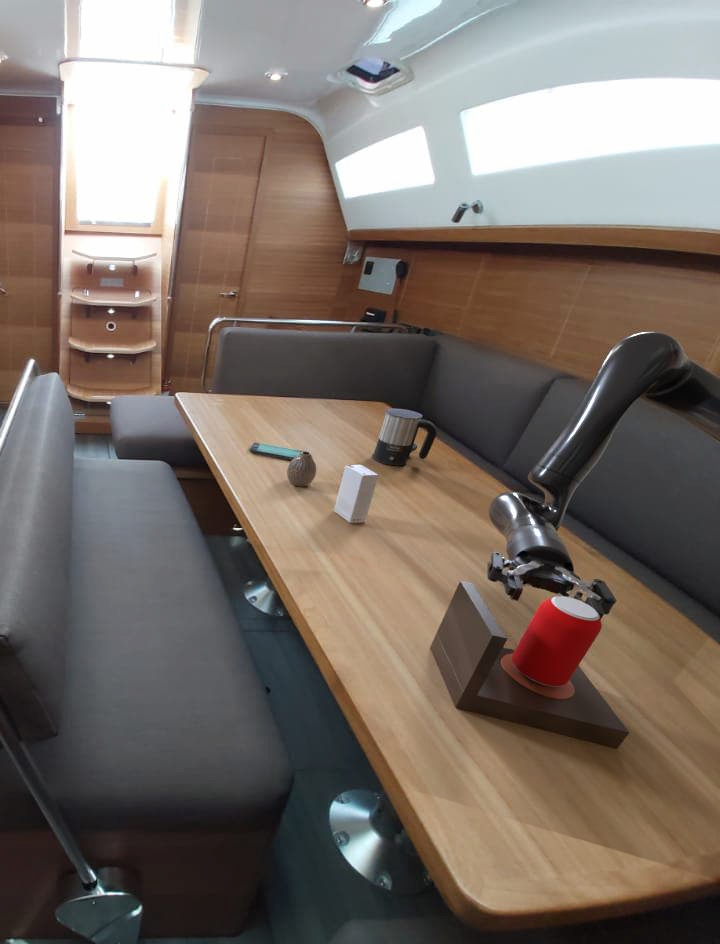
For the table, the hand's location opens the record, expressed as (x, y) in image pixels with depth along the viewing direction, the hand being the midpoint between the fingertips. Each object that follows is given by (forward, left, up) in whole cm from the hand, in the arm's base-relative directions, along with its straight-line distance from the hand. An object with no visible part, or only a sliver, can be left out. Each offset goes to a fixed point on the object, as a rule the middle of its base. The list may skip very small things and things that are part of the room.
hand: (554, 606), depth 71 cm
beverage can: (+2, +6, -8) cm, 10 cm away
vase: (+29, -56, -11) cm, 64 cm away
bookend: (+4, +7, -11) cm, 14 cm away
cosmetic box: (+19, -41, -11) cm, 46 cm away
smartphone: (+34, -76, -11) cm, 84 cm away
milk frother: (0, -88, -11) cm, 89 cm away
